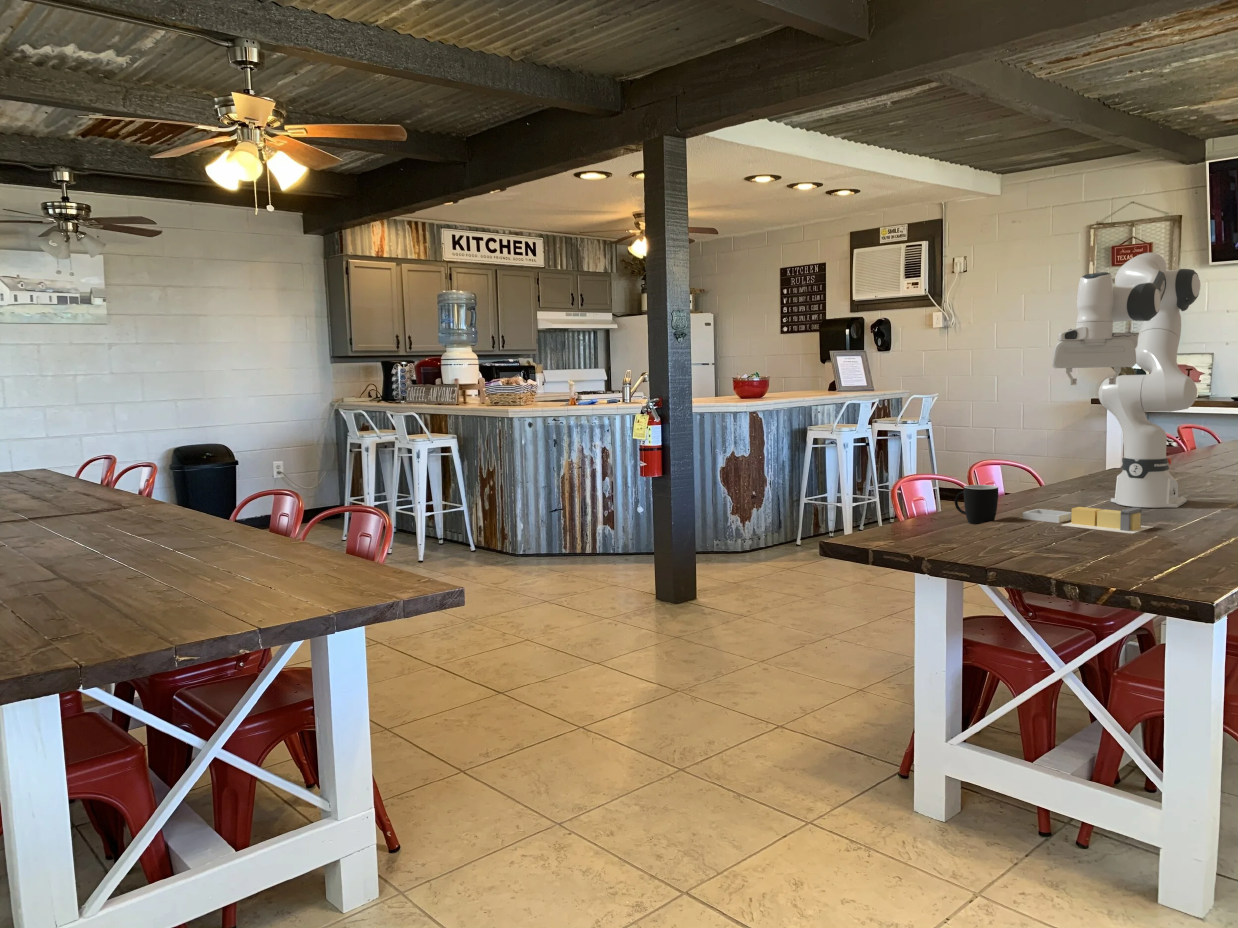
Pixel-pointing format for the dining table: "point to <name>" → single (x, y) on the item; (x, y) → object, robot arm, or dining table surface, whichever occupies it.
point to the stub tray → (1047, 515)
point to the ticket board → (1117, 521)
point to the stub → (1084, 516)
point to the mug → (979, 503)
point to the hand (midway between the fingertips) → (1092, 384)
